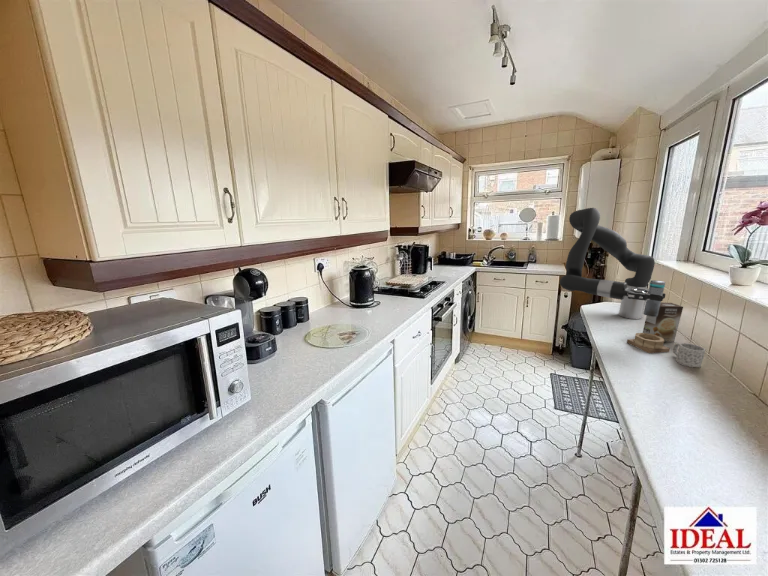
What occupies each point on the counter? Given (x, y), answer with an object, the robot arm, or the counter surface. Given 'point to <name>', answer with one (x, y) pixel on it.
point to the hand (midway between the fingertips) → (663, 297)
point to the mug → (689, 354)
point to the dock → (649, 350)
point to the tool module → (654, 305)
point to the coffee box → (664, 322)
